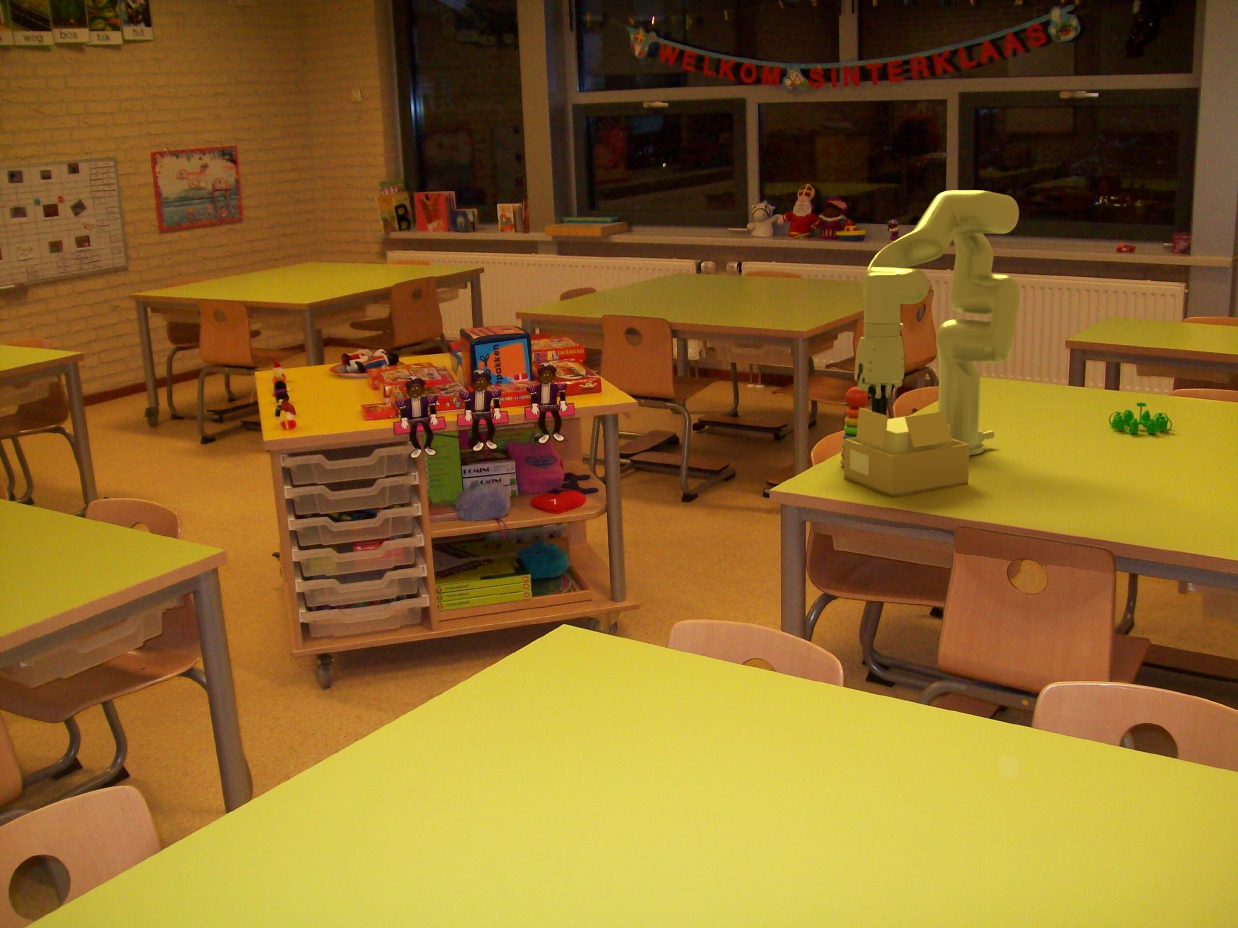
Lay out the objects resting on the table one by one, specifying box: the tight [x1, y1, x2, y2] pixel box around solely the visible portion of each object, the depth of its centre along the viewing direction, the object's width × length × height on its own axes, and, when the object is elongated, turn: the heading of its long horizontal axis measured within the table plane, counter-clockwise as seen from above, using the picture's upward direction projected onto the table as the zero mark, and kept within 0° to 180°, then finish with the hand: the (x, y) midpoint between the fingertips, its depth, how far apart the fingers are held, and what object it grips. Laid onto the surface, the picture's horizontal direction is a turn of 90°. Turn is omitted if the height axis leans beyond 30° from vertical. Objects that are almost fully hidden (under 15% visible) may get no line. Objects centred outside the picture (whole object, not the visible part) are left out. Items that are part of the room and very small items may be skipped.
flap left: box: [904, 411, 952, 448], centre depth 262 cm, size 10×7×1 cm
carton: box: [843, 414, 970, 498], centre depth 269 cm, size 21×19×13 cm
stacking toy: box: [840, 386, 869, 468], centre depth 282 cm, size 8×8×19 cm
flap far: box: [856, 408, 889, 448], centre depth 264 cm, size 10×7×1 cm
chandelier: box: [1108, 402, 1173, 436], centre depth 308 cm, size 15×15×7 cm
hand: (879, 415), depth 264 cm, fingers closed
